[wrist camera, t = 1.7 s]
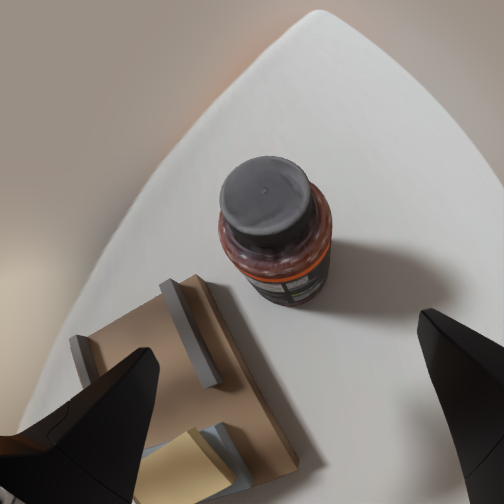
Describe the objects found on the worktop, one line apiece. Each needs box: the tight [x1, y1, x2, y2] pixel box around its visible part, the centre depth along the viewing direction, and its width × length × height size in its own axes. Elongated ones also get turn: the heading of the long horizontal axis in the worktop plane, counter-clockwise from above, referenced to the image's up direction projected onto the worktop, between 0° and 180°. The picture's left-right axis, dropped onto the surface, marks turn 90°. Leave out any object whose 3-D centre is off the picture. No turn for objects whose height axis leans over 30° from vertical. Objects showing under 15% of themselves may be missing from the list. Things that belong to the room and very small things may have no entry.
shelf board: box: [69, 274, 299, 504], centre depth 18 cm, size 16×14×5 cm
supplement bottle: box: [218, 156, 332, 306], centre depth 17 cm, size 6×6×11 cm
